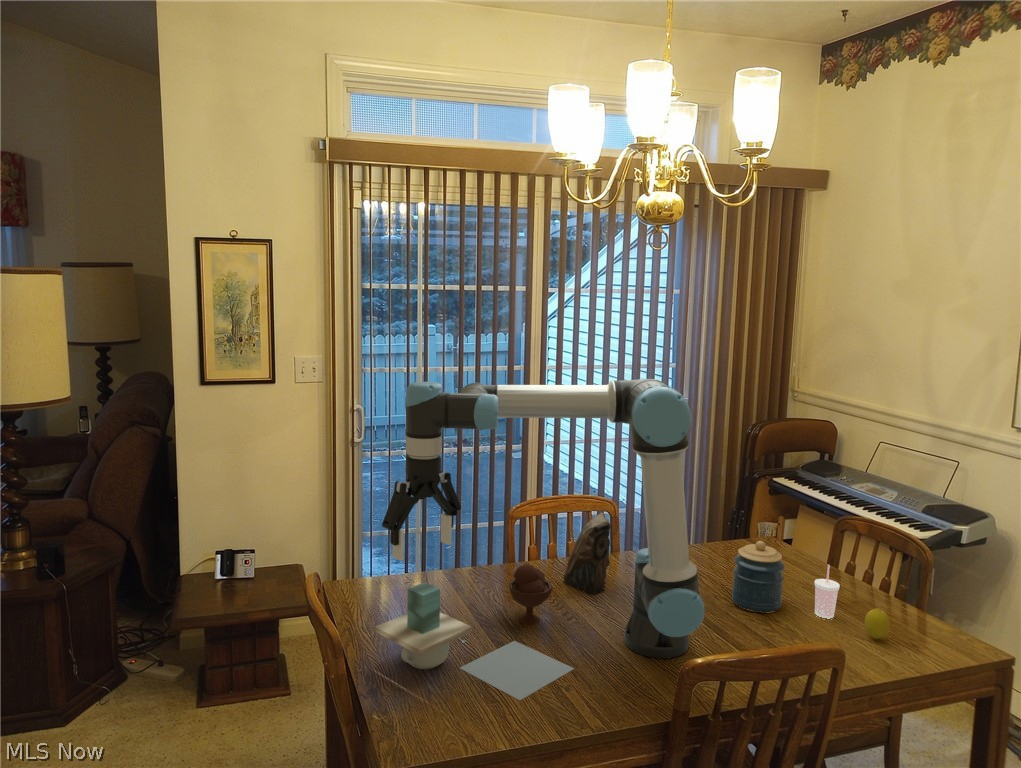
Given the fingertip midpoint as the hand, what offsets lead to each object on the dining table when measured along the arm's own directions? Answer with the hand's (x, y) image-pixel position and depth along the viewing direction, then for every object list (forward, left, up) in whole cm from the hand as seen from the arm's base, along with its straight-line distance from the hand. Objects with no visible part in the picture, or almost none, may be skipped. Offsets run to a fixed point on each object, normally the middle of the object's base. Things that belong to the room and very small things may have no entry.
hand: (422, 550), depth 164 cm
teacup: (0, 0, -27) cm, 27 cm away
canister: (-38, -86, -27) cm, 98 cm away
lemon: (-68, -88, -27) cm, 114 cm away
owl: (+2, -63, -27) cm, 68 cm away
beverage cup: (-54, -92, -27) cm, 110 cm away
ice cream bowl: (-2, -34, -27) cm, 43 cm away
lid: (0, 0, -19) cm, 19 cm away
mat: (-16, -14, -27) cm, 34 cm away
